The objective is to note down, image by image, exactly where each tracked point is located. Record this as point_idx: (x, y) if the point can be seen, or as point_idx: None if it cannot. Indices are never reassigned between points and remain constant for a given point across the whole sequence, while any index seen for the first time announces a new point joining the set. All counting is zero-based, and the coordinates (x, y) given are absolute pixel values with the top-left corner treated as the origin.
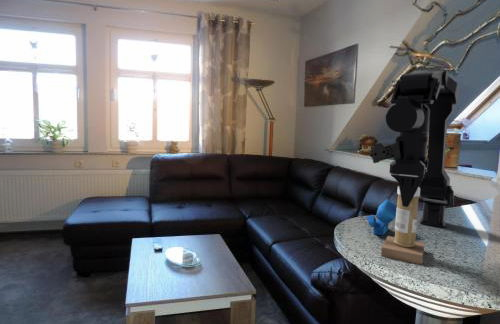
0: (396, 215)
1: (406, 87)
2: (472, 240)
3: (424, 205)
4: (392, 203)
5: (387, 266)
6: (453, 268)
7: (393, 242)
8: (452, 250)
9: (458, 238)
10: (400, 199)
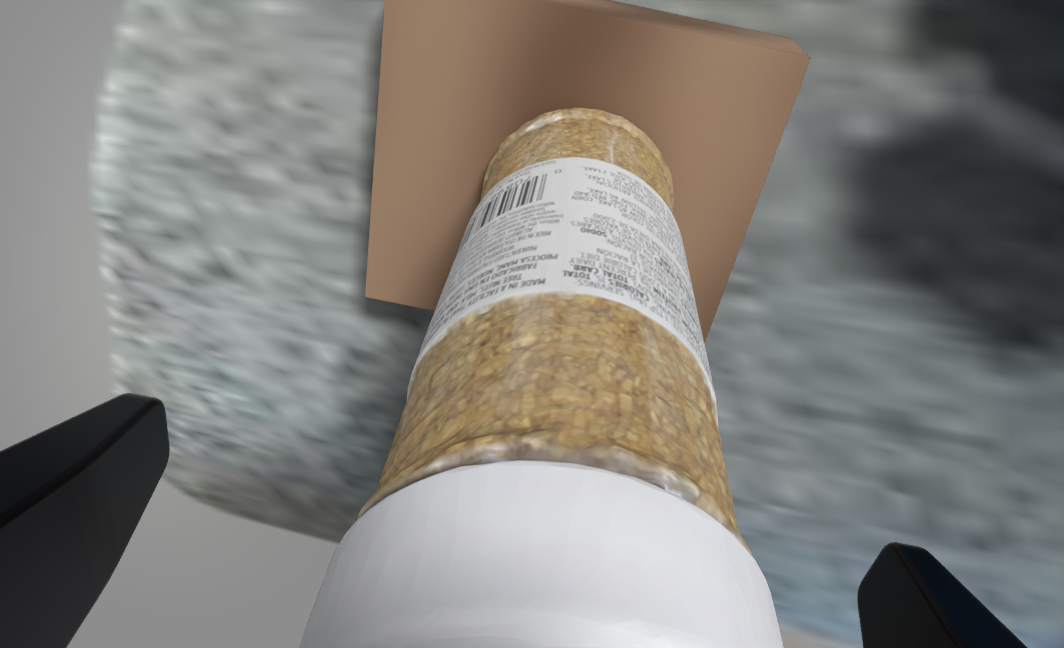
0: (537, 232)
1: None
2: (1014, 634)
3: None
4: None
5: (200, 5)
6: None
7: (598, 101)
8: (764, 489)
9: (1052, 579)
10: (429, 429)
